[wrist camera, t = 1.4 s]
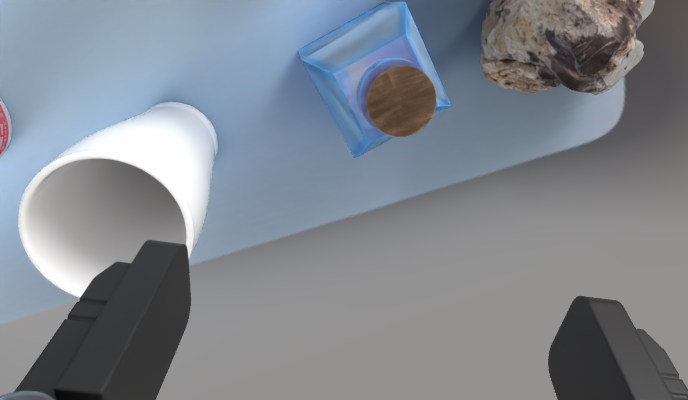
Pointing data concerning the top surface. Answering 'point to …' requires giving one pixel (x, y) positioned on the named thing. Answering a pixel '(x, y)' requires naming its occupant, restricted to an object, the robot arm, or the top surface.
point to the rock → (561, 43)
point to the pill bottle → (4, 128)
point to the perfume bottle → (376, 77)
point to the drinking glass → (119, 194)
